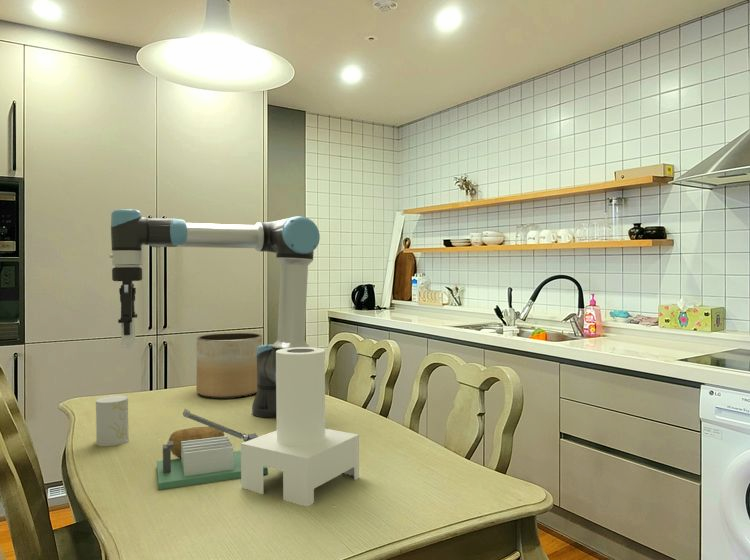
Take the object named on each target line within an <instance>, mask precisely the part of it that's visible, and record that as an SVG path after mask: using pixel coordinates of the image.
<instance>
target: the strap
mask: <svg viewBox="0 0 750 560" xmlns="http://www.w3.org/2000/svg"><path fill="white" fill-rule="evenodd" d="M182 417H184V418H187V419H190V420H192V421H195V422H197V423H200V424H203V425H205V426H206V427H208V426H210V427H212V428H215V429H217V430H220V431H222V432H224V434H225V433H226V434H228V435H231V436H233V437H236V438H238V439H240V440H241V439H242V440H243V442H246V441H248V434H246V433H241V432H239V431H236V430H233V429H231V428H229V427H226V426H224V425H221V424H219V423H217V422H214V421H211V420H209V419H207V418H204V417H202V416H200V415H199V416H198V415H197V414H193V413H191V410H189V409H187V408H184V410H183V412H182Z"/></svg>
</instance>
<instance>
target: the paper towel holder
mask: <svg viewBox="0 0 750 560" xmlns="http://www.w3.org/2000/svg"><path fill="white" fill-rule="evenodd" d="M325 354H326V351H325V349H324V348H322V347H321V348H320V347H311V346H309V347H295V348H285V349H279V350H277V351H276V416H277V417H276V430H274V431H271V432H268V433H266V434H263V435H260V436H258V437H257V438H254V439H252V440H249V441H246V442H245V441H243V442H241V443H240V451H241V478H240V479H241V480H240V483H241V484H240V485H241V489H242V488H244V489H243V490H246V489H248V490H247V491H249V490H252V491H251V492H253V491H255V492H254V493H256V492H258V494H260V493H262V494H261V495H264V474H263V466H266V467H268V468H271V469H275V470H279V471H282V476H283V477H282V485H283V486H282V488H283V489H282V493H283V494H282V497H283V501H284V500H286V501H285V502H288V501H290V502H289V503H291V502H293V503H292V504H295V503H296V504H295V505H298V504H301V505H300V506H302V505H304V506H303V507H305V506H309V507H311V506H312V505H311V504H313V503H314V504H315V489H316V488H318V487H319V486H322V485H324V484H325V483H327V482H329V481H331V480H333V479H335V478H336V477H338V476H340V475H342V473H345V474H344V475H346V474H349V475H348V476H351V475H353V476H352V477H354V479H353V480H354V481H355V479H356V480H358V479H359V478H360V435H359V434H357V433H352V432H346V431H341V430H335V429H331V428H326V362H325V361H326V360H325V359H326V355H325ZM358 477H359V478H358ZM314 504H313V505H314ZM310 505H311V506H310Z"/></svg>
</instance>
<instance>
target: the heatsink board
mask: <svg viewBox="0 0 750 560" xmlns="http://www.w3.org/2000/svg"><path fill="white" fill-rule="evenodd" d="M247 437H248V441H249V440H252V439H254V438H257V437H259V436H258V434H257V433H255V432H254V433H248V434H247ZM172 447H173V441H169V440H168V441H167V442H166V443H165V444H162V460H159V461H158V460H156V471H157V473H156V475H157V484H158V490H159V491H161V490H167V489H168V490H169V489H174V488H175V489H176V488H182V487H189V486H196V485H201V484H202V485H203V484H209V483H216V482H221V481H229V480H234V479H235V480H237V479H241V450H236V451H235V450H234V446H233V443H231V441H230V438H229V436H228V435H224V436H223V437H214V438H206V439H197V440H189V441H181V458H173V459H171V453H172V452H171V448H172ZM268 469H269V467H266V466H263V475H268V473H269V470H268Z"/></svg>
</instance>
